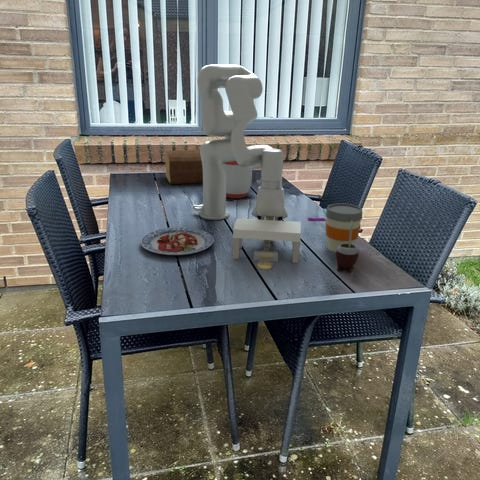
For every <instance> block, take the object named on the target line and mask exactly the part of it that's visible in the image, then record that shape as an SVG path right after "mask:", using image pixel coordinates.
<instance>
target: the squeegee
mask: <svg viewBox="0 0 480 480" xmlns="http://www.w3.org/2000/svg"><path fill="white" fill-rule="evenodd" d="M322 211H323V212H324V214H325V215H326V211H327V208H323V210H322ZM307 220H308V221H309V222H310V221H311V222H314V221H315V222H317V221H318V222H324V221H325V222H326V221H327V218H325V217H307Z"/></svg>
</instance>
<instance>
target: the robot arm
mask: <svg viewBox="0 0 480 480" xmlns="http://www.w3.org/2000/svg"><path fill="white" fill-rule="evenodd" d="M196 80H197V89H198V93H199V97H200V104H201V119H202V120H201V121H202V129H203V130H202V131H203V133H204V134H205V135H206V136H208V137H222V136H224V138H219V139H217V138H216V139H211V140H207V141H204V142H203V143H202V144H201V147H200V148H199V149H200V154H201V160H202V166H203V183H202V201H203V202H202V203H201V204H193V205H192V209H193V210H194V211H199V217H200V218H201V219H204V220H211V221H219V220H224V219H227V218H229V217H230V212H229V211H228V210H227V209H226V208H227V207H226V206H227V205H226V204H227V203H226V202H227V197H226V172H225V170H224V168H223V167H222V165H221V164H222V163H226V162H232V161H237V163H238V165H239V166H241V167H242V168H251V167H253V168H257V167H260V179H257V180H256V185H259V186H258V188H257V191H256V201H255V207H254V209H253V210H252V212H251V216H252V217H254V218H256V219H257V220H265V216H271V217H274V221H283V219H287V218H288V217H289V214H288V212H287V209H286V207H285V189H284V188H283V184H282V183H283V171H284V170H283V168H284V151H283V150H282V149H279V148H275V147H274V148H273V147H272V146H270V145H269V144H268V145H267V144H257V145H256V144H254V145H248V146H247V144H246V143H247V142H246V139H245V129H246V127H247V126H248V125H250V124H251V123H253V122H254V121H255V120H257V118H258V111H257V109H256V105H255V102H254V100H256V99H259V98H260V97H261V96H262V94H263V88H264V87H263V83H262V81H261V79H260V77H258V76H257V75H256V74H255V73H254V72H252V71H251V70H248V69H247V68H245V67H244V66H241V65H239V64H220V63H218V64H216V63H215V64H207V65H205V66H203V67H202V68H201V69H200V71H199V72H198V75H197V79H196ZM218 89H224V90H225V93H226V97H227V100H228V103H229V106H230V110H224V100H223V97H222V95H221V93H220V91H219V90H218Z"/></svg>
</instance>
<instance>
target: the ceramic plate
mask: <svg viewBox="0 0 480 480" xmlns="http://www.w3.org/2000/svg"><path fill="white" fill-rule="evenodd" d="M213 244H214V237H213V236H212V234H210V233H209V232H207V231H205V230H202V229H198V228H195V227H194V228H193V227H186V226H185V227H183V226H176V227H175V226H174V227H173V226H172V227H165V228H159V229H155V230H153V231H150V232H147V233H146V234H144V235H143V236H142V237H141V239H140V245H141V247H142V248H143V249H145V250H147V251H149V252H152V253H155V254H160V255H167V256H180V255H181V256H183V255H191V254H195V253H199V252H202V251H205V250H206V249H208V248H210V247H211V246H212V245H213Z"/></svg>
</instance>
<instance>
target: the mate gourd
mask: <svg viewBox="0 0 480 480" xmlns="http://www.w3.org/2000/svg"><path fill="white" fill-rule="evenodd" d="M352 226H353V220H351V228H350V238H349V244H346V243H344V244H341V245H339V247H338V248H337V251H336V252H335V260H336V262H337V263H336V264H337V268H336V271H337V272H340V271H346V272H347V273H349V274H352V273H353V271H352V269H354V266H355V265H356V263H357V261H358V259H359V250H358V248H357V247H356V245H355V244H354V245H352V244H351V236H352V230H353V229H352Z"/></svg>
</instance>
